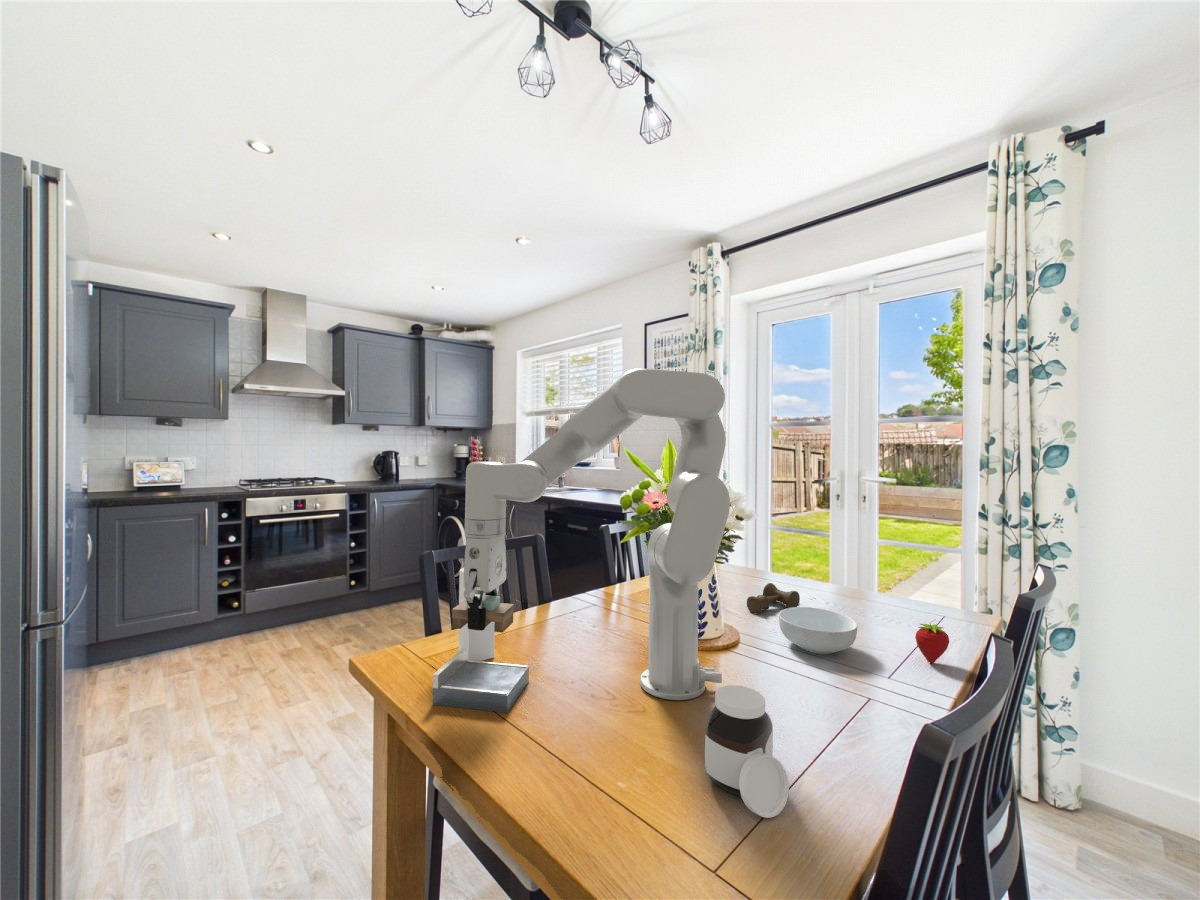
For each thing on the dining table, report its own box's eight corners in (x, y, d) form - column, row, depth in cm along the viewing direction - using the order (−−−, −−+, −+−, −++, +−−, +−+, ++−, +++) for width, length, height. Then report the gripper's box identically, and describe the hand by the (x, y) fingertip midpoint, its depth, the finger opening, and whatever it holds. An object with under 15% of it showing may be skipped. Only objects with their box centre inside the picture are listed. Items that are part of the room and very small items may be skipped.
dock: (528, 681, 98) (529, 653, 98) (507, 712, 86) (507, 681, 86) (462, 674, 101) (462, 648, 101) (432, 704, 89) (432, 674, 89)
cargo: (500, 604, 95) (500, 596, 95) (492, 610, 91) (492, 602, 91) (475, 602, 96) (475, 594, 96) (466, 608, 92) (466, 600, 92)
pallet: (513, 622, 95) (514, 604, 95) (503, 632, 90) (503, 613, 90) (464, 618, 97) (465, 600, 97) (451, 628, 92) (452, 609, 92)
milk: (468, 664, 106) (469, 561, 105) (457, 655, 110) (458, 555, 110) (495, 657, 109) (496, 557, 109) (483, 648, 114) (484, 552, 114)
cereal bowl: (778, 656, 112) (779, 624, 112) (777, 631, 128) (778, 603, 128) (862, 667, 107) (863, 634, 107) (850, 640, 123) (851, 611, 123)
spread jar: (730, 752, 76) (731, 676, 76) (805, 785, 69) (806, 701, 69) (688, 791, 67) (690, 705, 67) (770, 835, 60) (772, 738, 60)
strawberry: (955, 664, 109) (956, 619, 109) (937, 672, 105) (938, 624, 105) (926, 654, 114) (927, 611, 114) (908, 661, 110) (909, 616, 110)
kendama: (738, 610, 146) (779, 597, 157) (766, 621, 138) (807, 606, 149) (739, 590, 145) (780, 579, 157) (767, 600, 138) (808, 587, 149)
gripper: (486, 535, 84) (483, 642, 84) (519, 521, 101) (517, 610, 101) (444, 533, 86) (442, 638, 86) (484, 520, 103) (482, 607, 103)
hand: (483, 622), depth 94 cm, fingers closed on pallet, 5 cm apart
